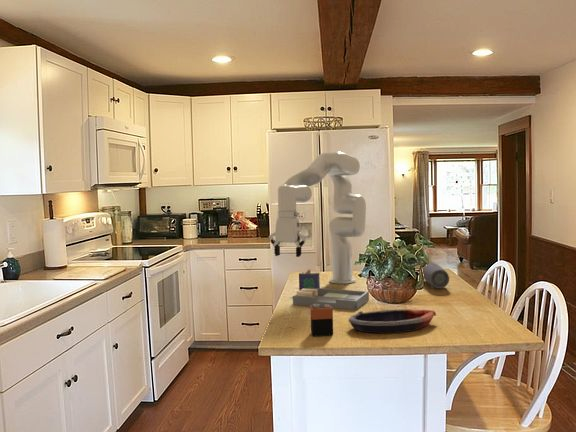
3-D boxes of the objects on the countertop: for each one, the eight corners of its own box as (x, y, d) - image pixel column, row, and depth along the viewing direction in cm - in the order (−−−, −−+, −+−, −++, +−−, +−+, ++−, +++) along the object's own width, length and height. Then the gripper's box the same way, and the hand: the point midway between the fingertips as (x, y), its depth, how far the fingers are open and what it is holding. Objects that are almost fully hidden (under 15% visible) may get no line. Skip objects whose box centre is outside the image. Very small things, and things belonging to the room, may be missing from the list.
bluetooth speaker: (417, 280, 243) (417, 260, 242) (437, 280, 243) (437, 259, 242) (429, 291, 220) (428, 268, 220) (450, 290, 220) (450, 268, 219)
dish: (343, 324, 177) (343, 310, 176) (427, 318, 181) (427, 304, 180) (355, 338, 161) (355, 322, 161) (446, 331, 165) (446, 316, 165)
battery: (310, 332, 168) (310, 303, 167) (331, 331, 168) (330, 302, 167) (312, 336, 163) (311, 306, 163) (333, 335, 164) (332, 305, 163)
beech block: (303, 295, 212) (303, 288, 212) (317, 296, 209) (317, 289, 209) (296, 299, 206) (296, 291, 206) (311, 300, 203) (311, 292, 203)
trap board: (308, 295, 221) (308, 287, 220) (368, 299, 209) (368, 291, 209) (293, 304, 206) (292, 295, 205) (356, 309, 194) (356, 300, 194)
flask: (319, 292, 226) (319, 268, 225) (320, 293, 223) (319, 269, 222) (299, 292, 227) (298, 268, 226) (299, 294, 224) (298, 270, 223)
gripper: (309, 214, 210) (310, 255, 211) (272, 214, 217) (273, 254, 218) (302, 215, 203) (303, 258, 204) (264, 215, 211) (265, 256, 211)
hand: (287, 256), depth 211 cm, fingers open, 9 cm apart
